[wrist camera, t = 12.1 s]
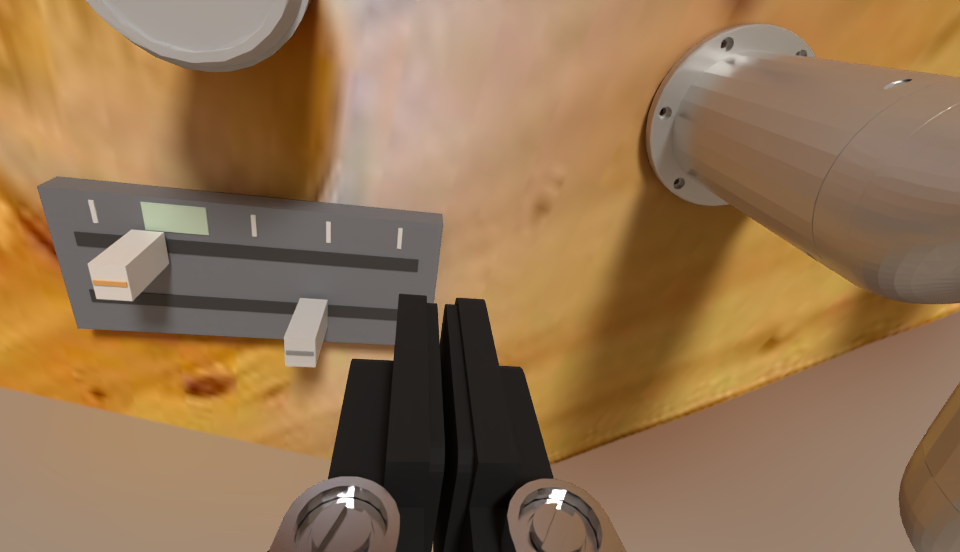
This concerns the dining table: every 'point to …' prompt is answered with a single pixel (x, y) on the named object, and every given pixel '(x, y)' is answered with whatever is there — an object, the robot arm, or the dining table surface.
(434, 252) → the console
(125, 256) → the fader
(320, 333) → the fader
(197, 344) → the dining table surface
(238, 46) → the disposable coffee cup
